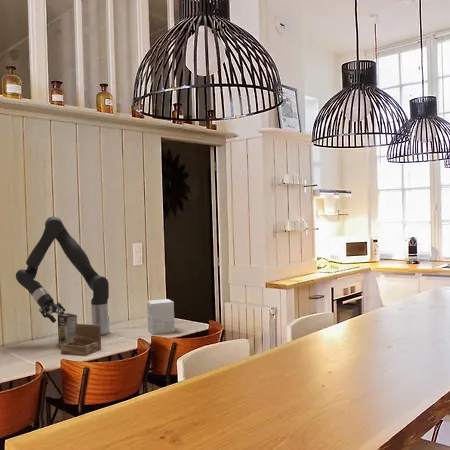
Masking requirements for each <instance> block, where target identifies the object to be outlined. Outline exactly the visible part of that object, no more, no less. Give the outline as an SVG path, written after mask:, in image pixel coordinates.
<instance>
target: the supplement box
mask: <svg viewBox="0 0 450 450" xmlns="http://www.w3.org/2000/svg"><path fill="white" fill-rule="evenodd" d="M146 305H147V306H146V309H147V331H148V332H149V333H150V334H151V335H158V334H159V335H160V334H168V333H175V330H176V329H175V328H176V327H175V324H176V323H175V302H174V300H171V299H169V298H163V299H155V300H154V299H152V300H147V301H146Z"/></svg>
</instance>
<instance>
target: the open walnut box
mask: <svg viewBox="0 0 450 450" xmlns="http://www.w3.org/2000/svg"><path fill="white" fill-rule="evenodd" d="M75 327H76V340H74V341H71V342H69V343H66V344H63V345H61V346H60V353H61V355H62V354H63V355H75V356H76V355H77V356H87V355H90V354H92V353H94V352H97V351H100V350H101V349H102V338H101V337H102V335H101V331H100V325H92V324H90V323H89V324H85V323H77V324H75Z"/></svg>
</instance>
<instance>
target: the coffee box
mask: <svg viewBox="0 0 450 450" xmlns="http://www.w3.org/2000/svg"><path fill="white" fill-rule="evenodd" d="M75 324H78V314H74V313H70V312H69V313H68V312H66V313H65V314H57V328H58V329H57V332H58V334H57V335H58V346H60V347H61V345H63V344H66V343H69V342H71V341H74V340H76V327H75Z"/></svg>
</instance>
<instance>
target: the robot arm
mask: <svg viewBox="0 0 450 450" xmlns="http://www.w3.org/2000/svg"><path fill="white" fill-rule="evenodd" d="M55 240H56V241H57V242H58V244H59V245H60V247H61V249H62V251H63V253H64V254H65V256H66V257H67V259H68V260H69V262H70V263H71V264H72V265H73V266H74V268H75V269H76V270H77V271H78V272H79V273H80V274H81V276H82V278H83V279H84V280H85V282H86V284H87V285H88V288H89V289H90V290H92V291H93V292H92V298H91V300H90V304H91V305H90V307H91V325H100V331H101V336H104V335H106V334H109V333H110V316H109V304H108V303H109V302H108V301H109V297H110V296H109V295H110V293H109V292H110V291H109V289H110V287H109V285H110V284H109V281H108V279H107V278H106V277H105V276H101V275H99V274H98V272H96V271H95V269H94V268H93V266H92V265H91V262H90V259H89V257H88V255H87V254H86V252H85V250H84V249H83V248H82V246H80V244H79V243H78V242H77V241H76V239H74V238H73V237H72V236H71V234H70V233H69V231H68V229H66V227H65V225H64V224H63V221H62V219H60V218H59V217H57V216H49V217H48V218H47V219H46V220H45V222H44V230H43V233H42V235H41V237H40V239H39V240H38V242H37V243H36V244H35V246H34V247H33V249H32V251H31V252H30V254H29V255H28V257H27V259H26V261H25V264H26V265H27V267H26V269H19V270H17V272H16V273H15V279H16V281H17V282H18V283H19V284H20V285H21V286H22V287H23V288H24V289H25V290H27V291H28V292H29V294H30V295H31V297H32V298H33V299H34V301H35V302H36V304H37V305H38V307H39V309H38V311H39V312H40V314H41V315H42V316H43V318H44V319H45V318H47V319H49V320H50V322H51V323H54V324H55V323H56V321H57V319H56V318H55V316H54V315H53V314H54V313H55V314H57V315H59V314H66V308H64V307H63V305H62V303H60V302H57V303H55V302H54V299H53V297H52V296H51V294H50V293H49V292H48V291H47V290H46V289H45V288H44V287H43V285H42V284H41V282H39V281H37V280H36V277H37V273H38V270H39V266H40V265H41V263H42V261H43V259H44V258H45V256H46V254H47V251H48V250H49V248H50V246H52V244H53V242H54V241H55Z"/></svg>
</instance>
